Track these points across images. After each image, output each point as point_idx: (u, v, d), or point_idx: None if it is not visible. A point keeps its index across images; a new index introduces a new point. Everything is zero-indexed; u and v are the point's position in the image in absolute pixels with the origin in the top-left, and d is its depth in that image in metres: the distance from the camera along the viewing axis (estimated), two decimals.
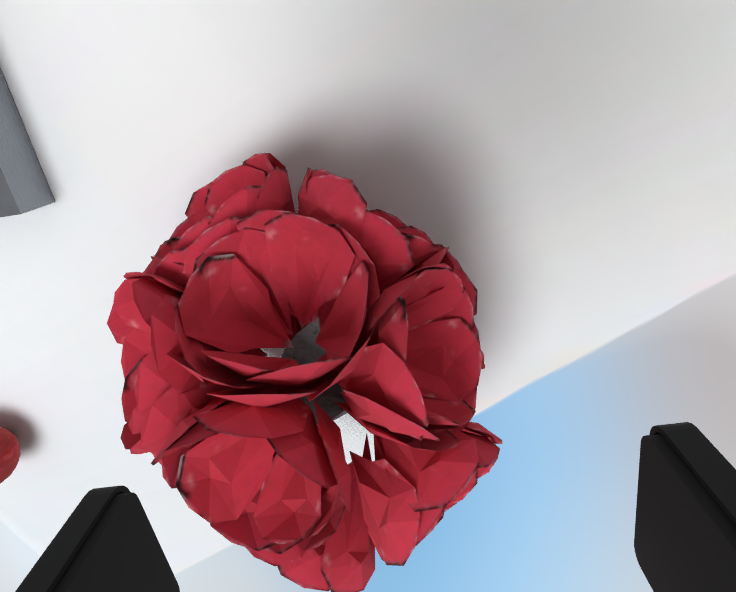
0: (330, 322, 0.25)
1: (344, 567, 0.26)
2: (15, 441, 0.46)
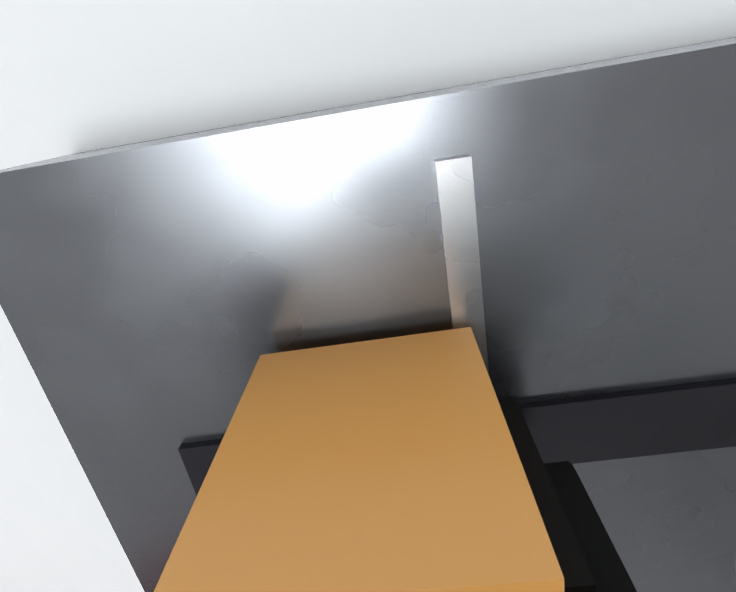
0: None
1: None
2: None
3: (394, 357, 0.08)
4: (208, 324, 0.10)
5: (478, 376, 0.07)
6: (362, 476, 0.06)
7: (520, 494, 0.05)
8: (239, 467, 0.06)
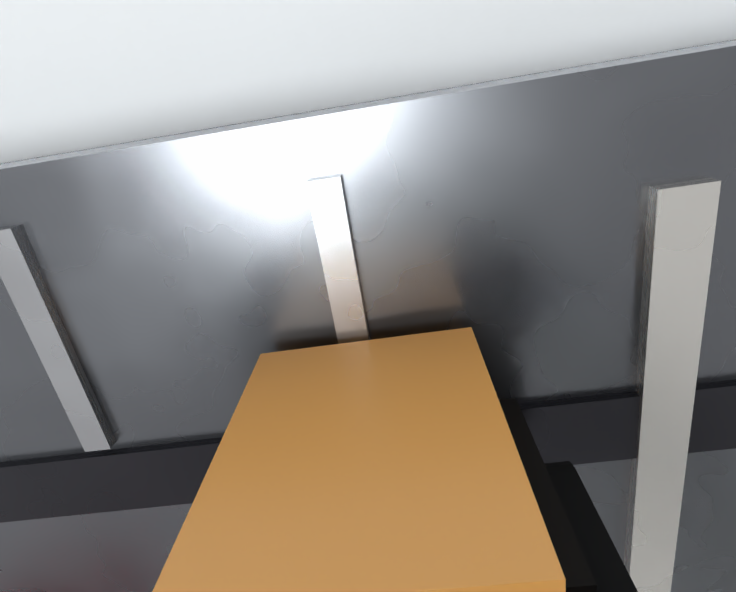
0: None
1: None
2: None
3: (395, 357, 0.08)
4: None
5: (479, 376, 0.07)
6: (363, 476, 0.06)
7: (521, 494, 0.05)
8: (239, 466, 0.06)
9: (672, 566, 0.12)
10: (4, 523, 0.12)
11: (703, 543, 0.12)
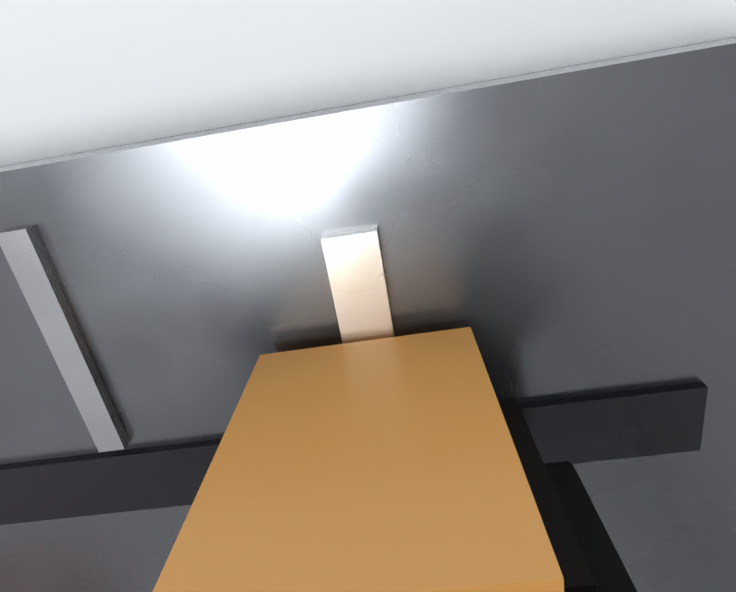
0: None
1: None
2: None
3: (394, 357, 0.08)
4: None
5: (478, 376, 0.07)
6: (361, 476, 0.06)
7: (520, 494, 0.05)
8: (238, 467, 0.06)
9: None
10: None
11: None
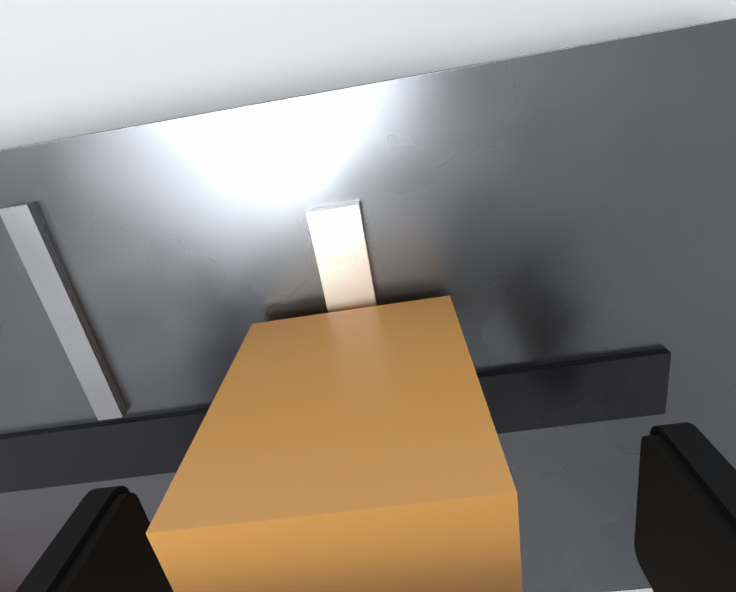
0: None
1: None
2: None
3: (377, 322, 0.09)
4: None
5: (454, 336, 0.08)
6: (343, 420, 0.07)
7: (484, 429, 0.06)
8: (232, 416, 0.07)
9: None
10: None
11: None
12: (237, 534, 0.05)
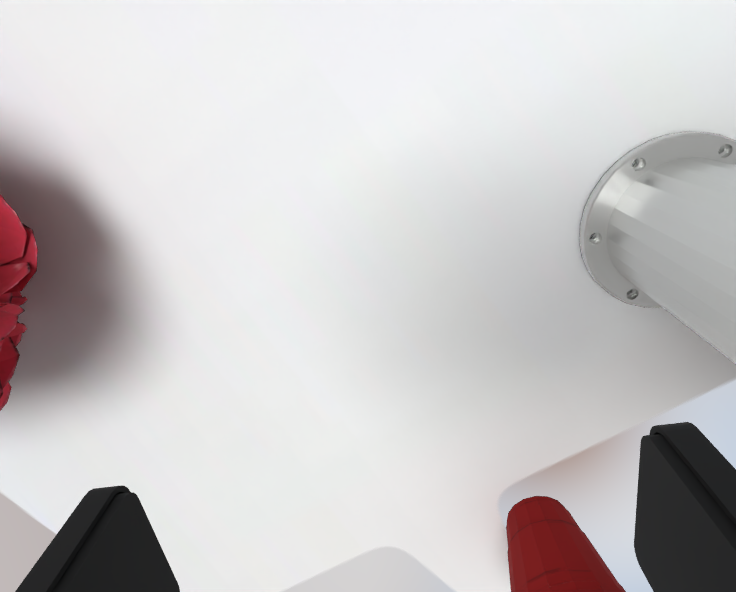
0: None
1: None
2: None
3: None
4: None
5: None
6: None
7: None
8: None
9: None
10: None
11: None
12: None
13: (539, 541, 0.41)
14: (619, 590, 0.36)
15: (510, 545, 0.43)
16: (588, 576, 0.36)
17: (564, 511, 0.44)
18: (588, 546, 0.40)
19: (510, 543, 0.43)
